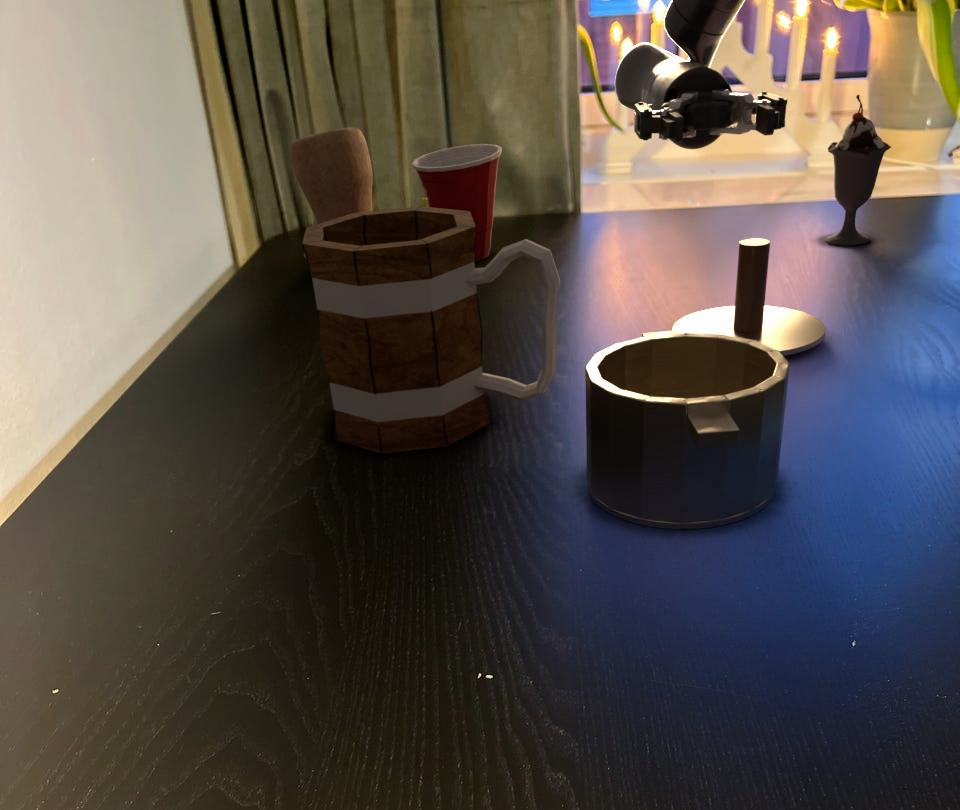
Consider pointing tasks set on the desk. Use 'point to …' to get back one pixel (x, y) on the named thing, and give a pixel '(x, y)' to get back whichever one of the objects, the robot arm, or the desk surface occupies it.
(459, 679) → the desk surface
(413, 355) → the mug
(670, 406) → the pot
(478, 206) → the plastic cup
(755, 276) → the lid
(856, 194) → the sundae
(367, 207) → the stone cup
